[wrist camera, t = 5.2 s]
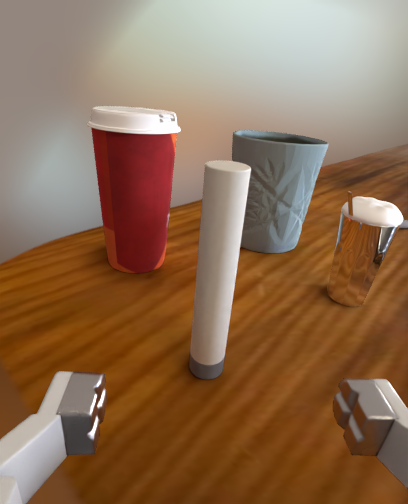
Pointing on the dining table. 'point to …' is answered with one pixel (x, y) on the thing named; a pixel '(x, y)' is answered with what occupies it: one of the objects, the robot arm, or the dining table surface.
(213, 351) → the white cylindrical rod
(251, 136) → the grey embossed cup
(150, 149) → the paper cup
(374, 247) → the milkshake
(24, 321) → the dining table surface
